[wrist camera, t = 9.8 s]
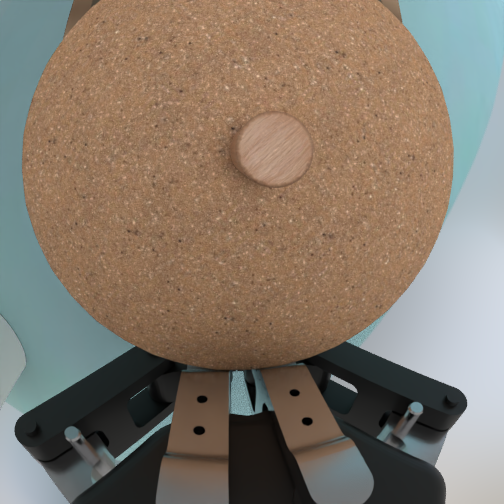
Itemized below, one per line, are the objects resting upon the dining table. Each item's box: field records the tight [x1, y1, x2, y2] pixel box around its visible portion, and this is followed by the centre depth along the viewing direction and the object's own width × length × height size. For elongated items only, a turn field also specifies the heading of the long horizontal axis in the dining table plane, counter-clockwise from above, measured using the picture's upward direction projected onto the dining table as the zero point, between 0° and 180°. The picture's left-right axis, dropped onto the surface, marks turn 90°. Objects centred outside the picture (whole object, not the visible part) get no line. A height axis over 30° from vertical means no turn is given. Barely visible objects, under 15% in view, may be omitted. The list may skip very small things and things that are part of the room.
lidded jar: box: [22, 0, 454, 370], centre depth 8 cm, size 11×11×9 cm
